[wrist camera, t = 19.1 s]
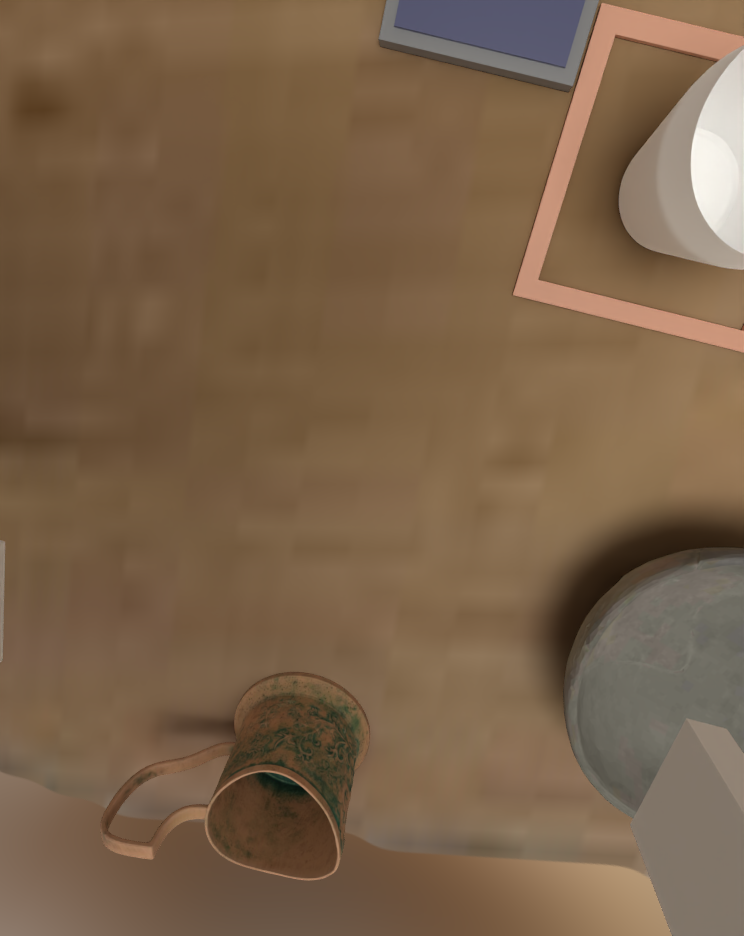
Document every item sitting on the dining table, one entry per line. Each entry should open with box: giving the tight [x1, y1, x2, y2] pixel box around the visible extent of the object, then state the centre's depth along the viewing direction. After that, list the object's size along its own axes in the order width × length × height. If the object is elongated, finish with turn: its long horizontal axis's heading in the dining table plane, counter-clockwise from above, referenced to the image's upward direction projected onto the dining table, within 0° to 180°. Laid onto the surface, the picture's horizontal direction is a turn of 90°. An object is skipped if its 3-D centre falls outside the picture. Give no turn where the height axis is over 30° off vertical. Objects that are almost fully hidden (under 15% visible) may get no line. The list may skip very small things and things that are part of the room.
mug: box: [100, 672, 370, 880], centre depth 42 cm, size 12×18×12 cm, turn 88°
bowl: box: [563, 547, 744, 818], centre depth 38 cm, size 21×21×8 cm
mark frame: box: [512, 3, 744, 352], centre depth 32 cm, size 15×15×1 cm
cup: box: [619, 45, 744, 270], centre depth 27 cm, size 9×9×12 cm
